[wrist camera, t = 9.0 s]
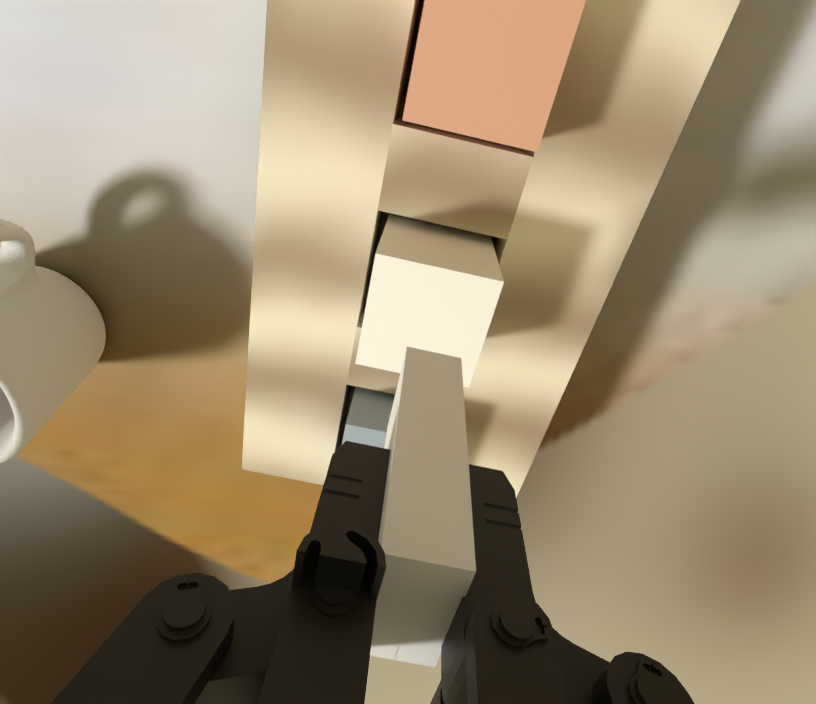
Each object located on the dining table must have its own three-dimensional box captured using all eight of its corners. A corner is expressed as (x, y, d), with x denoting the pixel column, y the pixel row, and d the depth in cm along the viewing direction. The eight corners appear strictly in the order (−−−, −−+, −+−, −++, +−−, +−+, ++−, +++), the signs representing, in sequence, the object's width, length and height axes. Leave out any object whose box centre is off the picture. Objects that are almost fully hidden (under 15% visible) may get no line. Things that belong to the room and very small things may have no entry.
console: (316, -114, 18) (276, -171, 14) (685, -17, 19) (759, -42, 14) (270, 410, 30) (241, 469, 25) (496, 456, 31) (505, 520, 26)
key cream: (389, 214, 20) (375, 253, 16) (490, 237, 20) (503, 281, 16) (371, 307, 22) (355, 363, 18) (463, 327, 22) (468, 387, 18)
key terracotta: (436, -26, 17) (434, -56, 13) (554, 5, 17) (590, -15, 13) (410, 108, 19) (402, 120, 15) (516, 133, 19) (537, 152, 15)
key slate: (361, 364, 25) (345, 424, 21) (443, 381, 25) (443, 443, 21) (349, 428, 27) (332, 494, 23) (424, 443, 27) (421, 511, 23)
